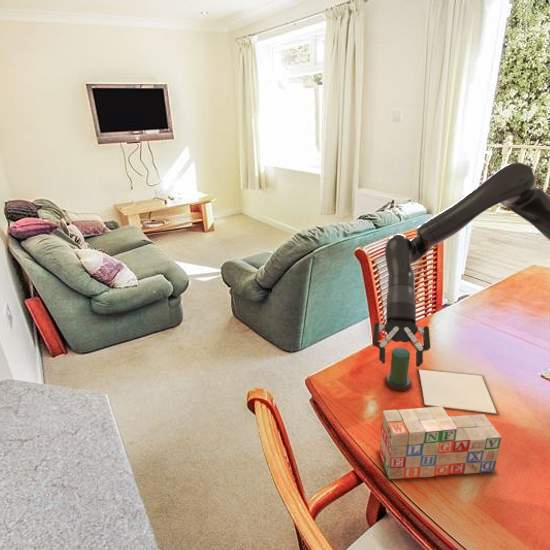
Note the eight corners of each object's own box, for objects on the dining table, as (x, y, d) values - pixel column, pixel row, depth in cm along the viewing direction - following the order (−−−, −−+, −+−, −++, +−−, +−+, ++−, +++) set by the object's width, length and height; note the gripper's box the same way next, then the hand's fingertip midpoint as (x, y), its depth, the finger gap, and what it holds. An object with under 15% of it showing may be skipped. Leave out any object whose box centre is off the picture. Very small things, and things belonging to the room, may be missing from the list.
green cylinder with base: (408, 377, 102) (412, 347, 98) (410, 392, 97) (414, 360, 93) (386, 375, 104) (388, 344, 100) (386, 389, 98) (389, 358, 94)
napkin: (481, 376, 101) (481, 375, 101) (496, 413, 89) (496, 413, 89) (418, 370, 105) (418, 369, 105) (424, 405, 92) (424, 404, 92)
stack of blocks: (477, 447, 80) (487, 402, 76) (494, 472, 75) (506, 425, 70) (378, 453, 80) (382, 409, 75) (388, 480, 74) (392, 433, 70)
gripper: (426, 310, 103) (427, 369, 98) (373, 307, 107) (371, 364, 101) (431, 302, 97) (432, 365, 91) (374, 298, 100) (372, 359, 94)
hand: (400, 364), depth 96 cm, fingers open, 8 cm apart
